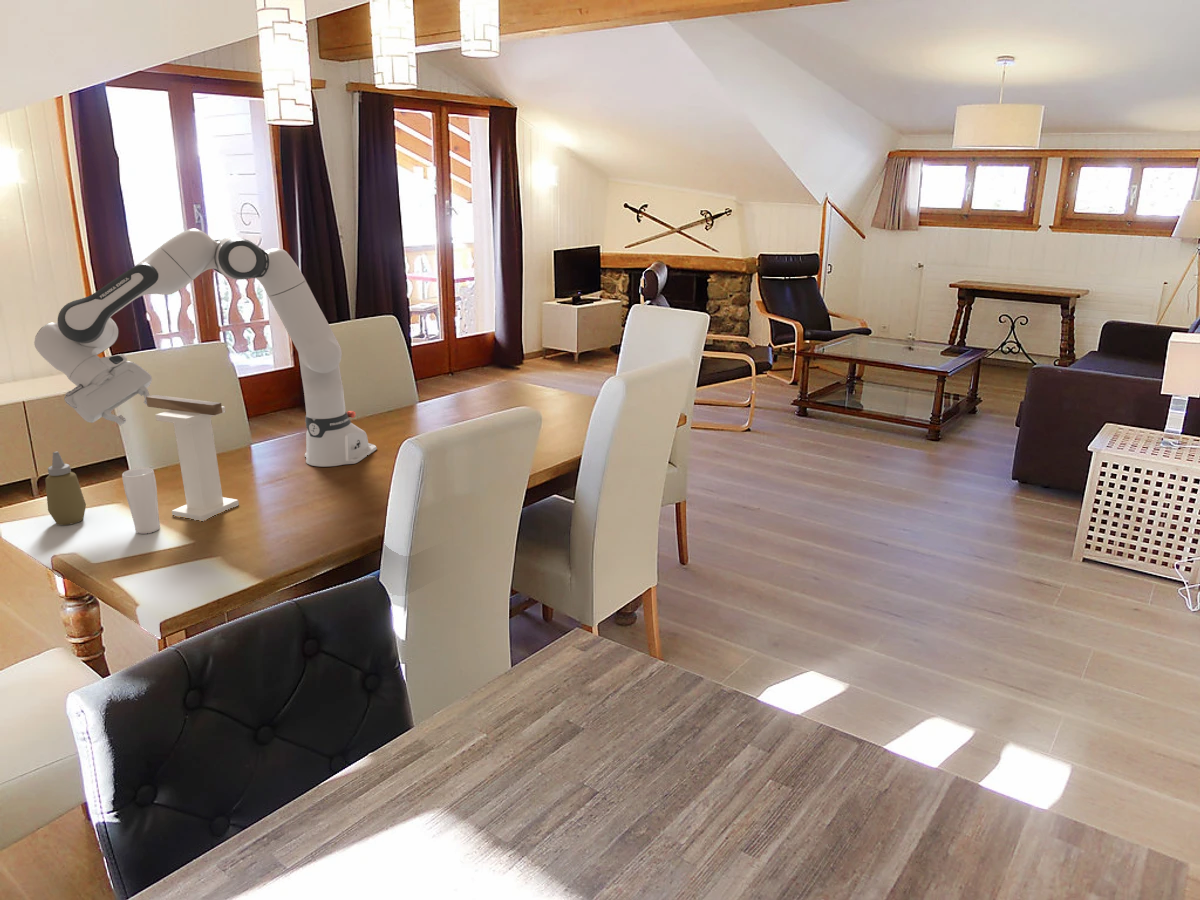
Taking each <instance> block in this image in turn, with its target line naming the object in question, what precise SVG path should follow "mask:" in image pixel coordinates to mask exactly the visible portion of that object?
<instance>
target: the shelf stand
mask: <svg viewBox="0 0 1200 900" xmlns="http://www.w3.org/2000/svg"><path fill="white" fill-rule="evenodd" d="M222 412H223V413H220V414H217V415H208V414H200V413H192V412H185V411H177V410H169V409H168V410H166V411H163V412H159V413H155V420H156V421H157V422H165V423H173V427H174V430H173V431H174V434H175V440H176V447H177V454H178V460H179V465H180V470H181V471H180V473H181V477H182V478H181V479H182V484H183V490H184V495H185V496H184V498H185V502H186V503H185V504H184V505H181V506H179V507H177V508H175V509H172V510H171V514H172V515H175V516H181V517H186V518H191V519H194V520H193V521H196V520H201V521H203V522H205V521H207V520H206V519H208V518H210V517H212V516H214V515H216V514H218V513H221V512H223V511H225V510H227V511H229V510H231V509H230V508H232V509H233V507H234V508H235V507H238V506H239V505H240V504H239V499H236V498H232V497H230V498H229V497H224V496H223V491H222V485H221V484H222V483H221V477H220V472H219V471H220V470H219V464H218V457H217V451H216V444H215V443H216V442H215V436H214V430H213V424H212V417H216V416H219V415H222V414H225V413H226V407H225V406H224V405H222ZM228 509H229V510H228ZM225 512H226V511H225ZM223 513H224V512H223ZM221 514H222V513H221ZM172 515H171V516H172ZM175 516H174V517H175ZM216 516H217V515H216ZM214 517H215V516H214ZM212 518H213V517H212ZM191 519H190V520H191ZM210 519H211V518H210ZM204 520H205V521H204ZM208 520H209V519H208ZM201 521H200V522H201Z"/></svg>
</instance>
